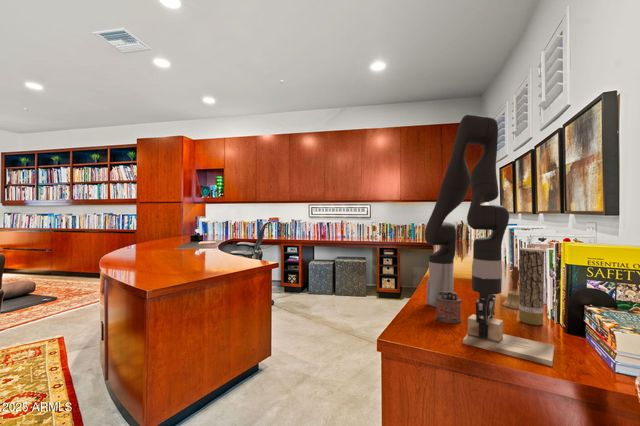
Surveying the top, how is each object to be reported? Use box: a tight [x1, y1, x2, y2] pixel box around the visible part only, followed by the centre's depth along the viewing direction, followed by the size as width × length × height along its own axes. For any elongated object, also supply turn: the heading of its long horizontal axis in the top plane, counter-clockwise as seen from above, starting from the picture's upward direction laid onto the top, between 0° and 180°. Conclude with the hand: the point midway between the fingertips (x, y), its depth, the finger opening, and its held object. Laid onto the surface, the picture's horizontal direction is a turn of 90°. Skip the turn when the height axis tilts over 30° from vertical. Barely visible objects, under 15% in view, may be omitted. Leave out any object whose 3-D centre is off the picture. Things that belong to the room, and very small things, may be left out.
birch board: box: [462, 333, 555, 367], centre depth 85 cm, size 20×12×1 cm, turn 51°
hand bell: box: [502, 266, 520, 310], centre depth 124 cm, size 8×8×16 cm
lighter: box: [435, 291, 462, 324], centre depth 106 cm, size 8×3×10 cm, turn 71°
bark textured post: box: [518, 247, 545, 326], centre depth 105 cm, size 7×7×25 cm
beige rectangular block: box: [467, 313, 504, 343], centre depth 89 cm, size 8×5×5 cm, turn 49°
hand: (485, 333), depth 88 cm, fingers closed on beige rectangular block, 5 cm apart
